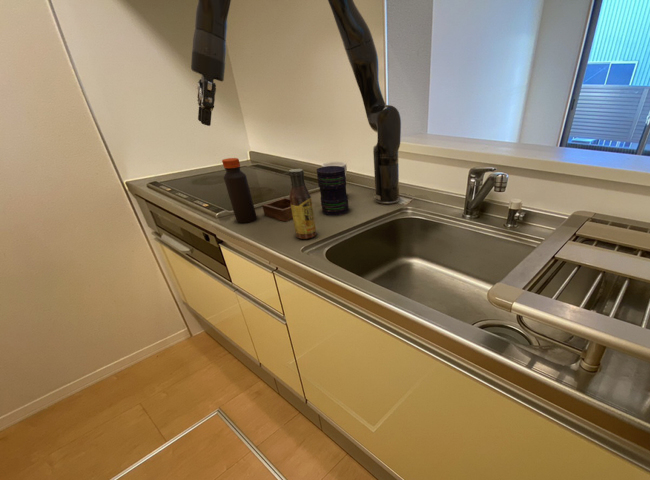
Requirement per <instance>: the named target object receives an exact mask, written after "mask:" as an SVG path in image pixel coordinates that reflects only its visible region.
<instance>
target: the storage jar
mask: <svg viewBox="0 0 650 480" xmlns="http://www.w3.org/2000/svg"><path fill="white" fill-rule="evenodd" d="M316 176H317V183H318V184H317V185H318V187H319V192H320V206H321V209H322V214H323V215H325V216H329V217H340V216H344V215H346V214H348V213H349V211H350V210H349V198H348V195H347V175H346V176H345V168H344V167H341V166H326V167H322V166H321V167H318V168H316Z"/></svg>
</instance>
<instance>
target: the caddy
mask: <svg viewBox="0 0 650 480" xmlns="http://www.w3.org/2000/svg"><path fill="white" fill-rule="evenodd" d="M261 206H262V211H263V214H264V216H265V217H268V218H271V219H275V220H278V221H282V222H287V221H290V220H293V215H292V209H291V202H290V197H283V198H279V199H276V200H274V201H273V200H272V201H270V202H266V203H263V204H262V205H261Z"/></svg>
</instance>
